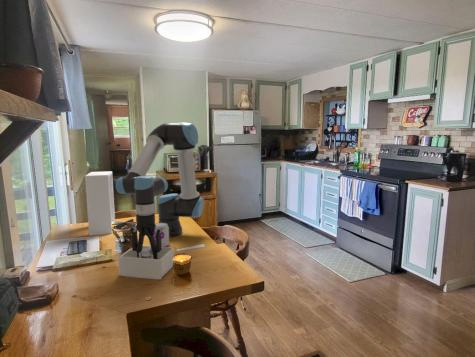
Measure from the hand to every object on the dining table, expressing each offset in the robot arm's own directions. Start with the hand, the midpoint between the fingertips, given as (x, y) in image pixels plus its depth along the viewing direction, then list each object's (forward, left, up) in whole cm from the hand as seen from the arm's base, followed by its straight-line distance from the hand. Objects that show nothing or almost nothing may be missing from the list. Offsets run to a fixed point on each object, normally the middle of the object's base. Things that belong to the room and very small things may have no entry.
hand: (147, 266), depth 128 cm
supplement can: (-17, -2, -2) cm, 17 cm away
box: (-50, -56, -2) cm, 75 cm away
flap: (+10, 0, +8) cm, 13 cm away
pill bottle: (0, 0, -1) cm, 1 cm away
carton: (0, 0, -2) cm, 2 cm away
